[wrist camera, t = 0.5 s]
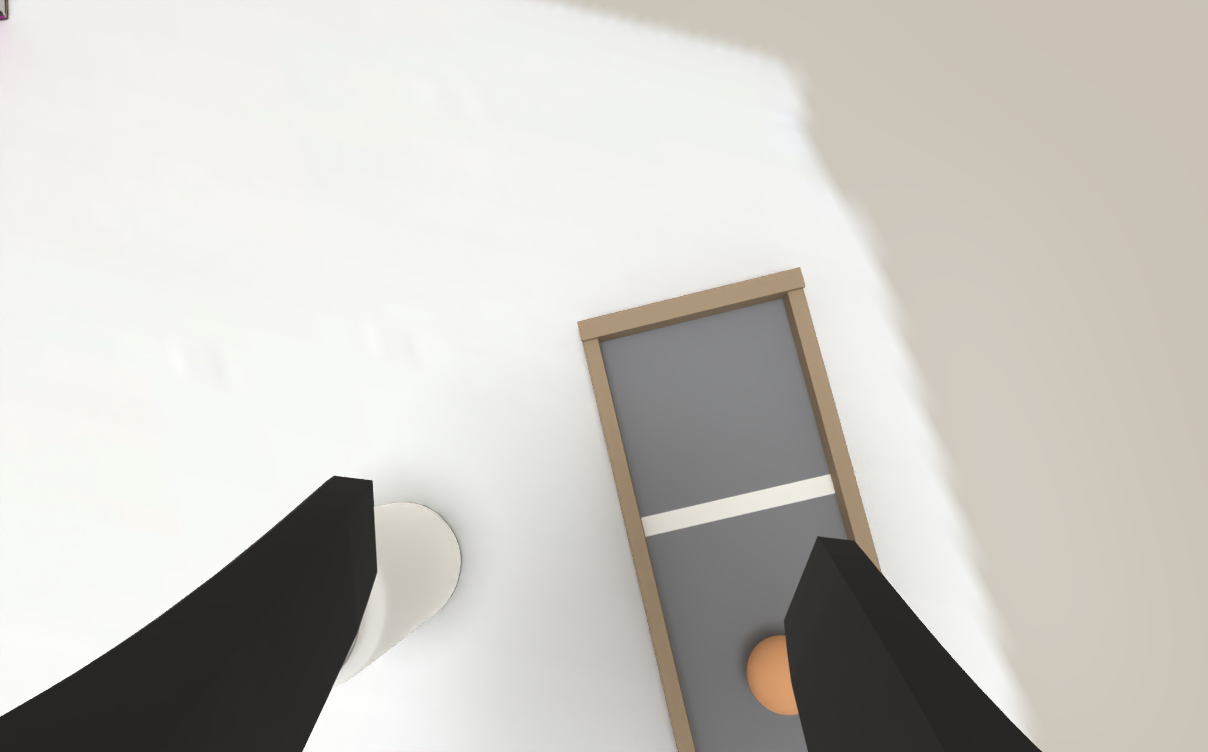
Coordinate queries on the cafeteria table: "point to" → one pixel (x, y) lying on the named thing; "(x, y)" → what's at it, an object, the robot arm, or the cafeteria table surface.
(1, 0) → the candy bar box
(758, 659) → the ball
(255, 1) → the cafeteria table surface
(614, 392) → the lane
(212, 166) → the cafeteria table surface
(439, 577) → the can
